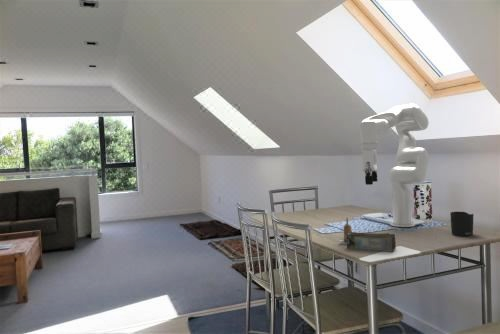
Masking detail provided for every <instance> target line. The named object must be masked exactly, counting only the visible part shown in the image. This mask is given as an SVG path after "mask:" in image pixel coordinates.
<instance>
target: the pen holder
mask: <svg viewBox="0 0 500 334" xmlns="http://www.w3.org/2000/svg"><path fill="white" fill-rule="evenodd" d="M450 229H451V230H450V231H451V235H454V236H456V237H472V236H473V235H474V213H468V212H465V211H450Z"/></svg>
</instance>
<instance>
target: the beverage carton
mask: <svg viewBox="0 0 500 334" xmlns="http://www.w3.org/2000/svg"><path fill="white" fill-rule="evenodd" d="M346 237H347V245H346V249H348V250H357V249H358V250H357V251H372V252H387V253H388V252H389V253H390V252H391V253H393V252H394V250H395V249H396V235H395V234H393V233H388V232H387V233H386V232H385V233H384V232H383V233H374V232H369V233H368V232H356V231H355V232H352V231H351V232H350V233H349V234H348V235H347V236H346Z"/></svg>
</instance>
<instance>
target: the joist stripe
mask: <svg viewBox="0 0 500 334" xmlns="http://www.w3.org/2000/svg"><path fill="white" fill-rule="evenodd" d="M337 242H340V243H338V245H340V246H341V245H342V246H347V242H344V239H343V240H341V239H340V240H338V241H337Z"/></svg>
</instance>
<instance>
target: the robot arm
mask: <svg viewBox="0 0 500 334" xmlns="http://www.w3.org/2000/svg"><path fill="white" fill-rule="evenodd" d="M394 127H395V130H396V133H397V136H398V139H399V144H398V149H397V152H396V157H395V158H396V159H395V160H396V163H397V166H394V167H392V168H391V169H390V171H389V179H390V184H391V195H392V198H391V199H392V201H391V202H392V221H393V223H391V222H392V221H390V222H389V225H390V226H392V227H397V228H412V227H415V226H416V223H415V222H414V221H413V210H412V203H413V202H412V191H411V189H410V187H409V186H408V185H422V184H423V183H424V182H425V179H426V174H427V169H428V165H429V164H428V163H429V152H428V150H427V149H426V148H424V147H416V145H417V139H416V138H415V136H414V135H413V134H412V133H411V132H419V131H424V130H426V129H427V128H428V127H429V119H428V116H427V115H426V113H425V111H423V110H422V109H421V108H420V107H419V105H417V104H415V103H409V104H402V105H396V106H393V107H392V108H390V109H388V110H387V111H385V112H380V113H379V114H376V115H372V116H369V117H367V118H365V119H363V120H361V121H360V123H359V125H358V132H359V134H360V145H361V147H360V148H361V151H362V171H363V172H364V175H365V176H364V179H365V181H364V182H365V185H367V186H368V185H373V184H374V183H375V182H378V170H377V169H378V157H377V154H378V153H377V150H379V143H378V142H379V139H378V138H379V137H378V136H384V135H386V134H388V133H389V132H390V129H391V128H394ZM412 222H413V223H412Z"/></svg>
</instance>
